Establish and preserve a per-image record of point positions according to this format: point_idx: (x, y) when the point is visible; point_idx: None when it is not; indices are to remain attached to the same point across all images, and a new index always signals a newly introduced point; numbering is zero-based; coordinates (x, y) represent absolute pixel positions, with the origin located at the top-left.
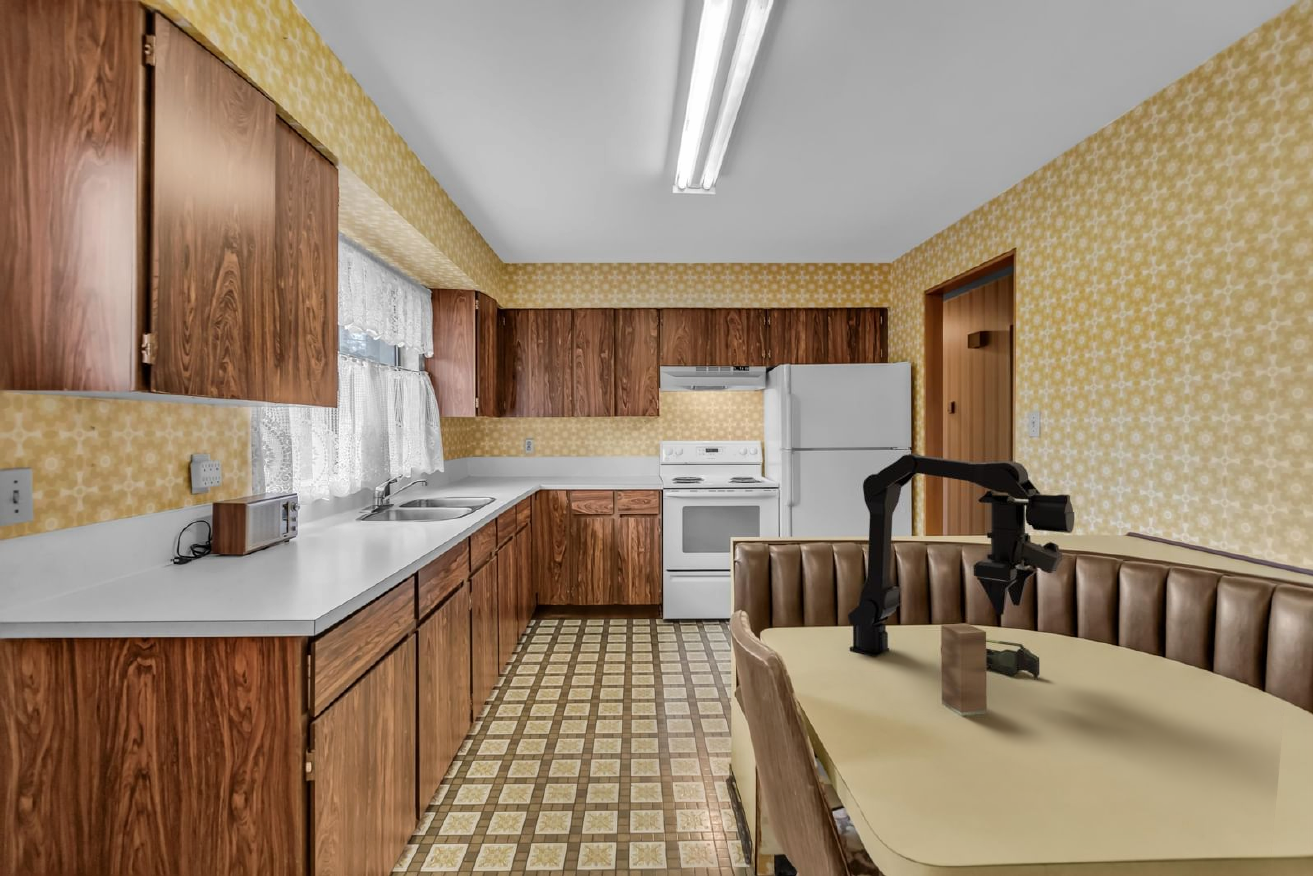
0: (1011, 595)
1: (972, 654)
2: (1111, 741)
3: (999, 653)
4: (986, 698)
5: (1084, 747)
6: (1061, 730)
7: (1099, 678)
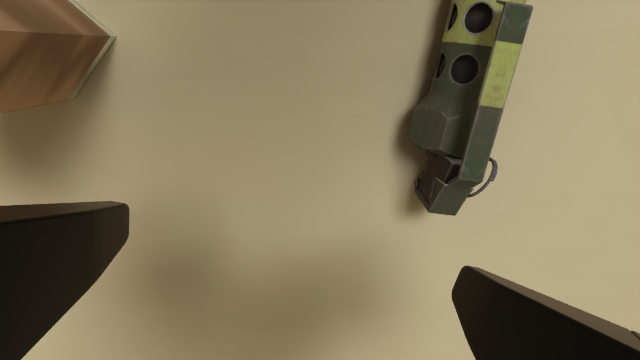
0: (500, 301)
1: None
2: (127, 311)
3: (457, 100)
4: (45, 103)
5: None
6: None
7: None
